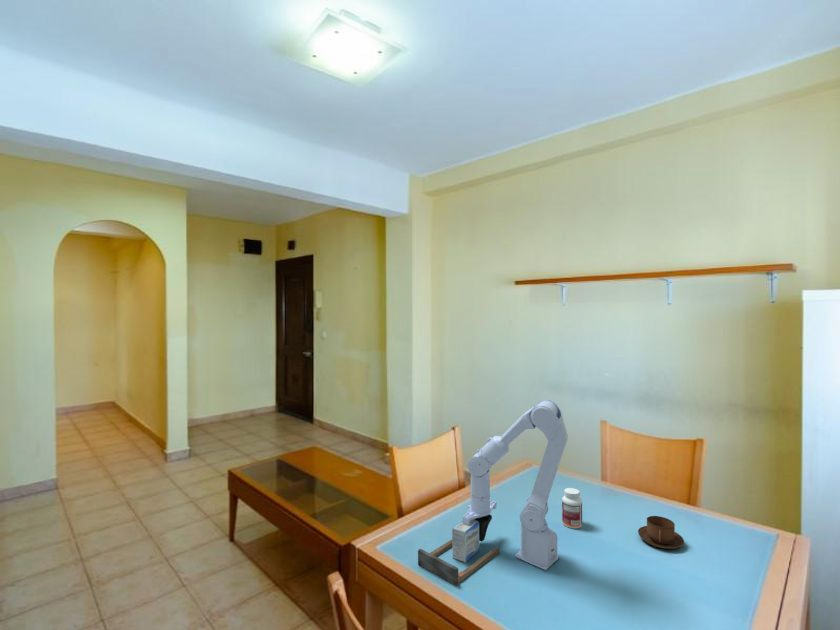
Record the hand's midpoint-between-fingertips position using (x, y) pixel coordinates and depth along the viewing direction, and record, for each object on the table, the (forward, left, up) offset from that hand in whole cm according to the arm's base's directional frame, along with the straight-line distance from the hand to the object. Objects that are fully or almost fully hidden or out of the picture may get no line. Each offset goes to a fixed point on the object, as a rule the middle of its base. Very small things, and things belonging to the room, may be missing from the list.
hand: (480, 539), depth 128 cm
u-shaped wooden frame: (0, +10, -1) cm, 10 cm away
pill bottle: (-15, -30, -2) cm, 34 cm away
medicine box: (0, +7, -2) cm, 7 cm away
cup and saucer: (-39, -38, -2) cm, 54 cm away
